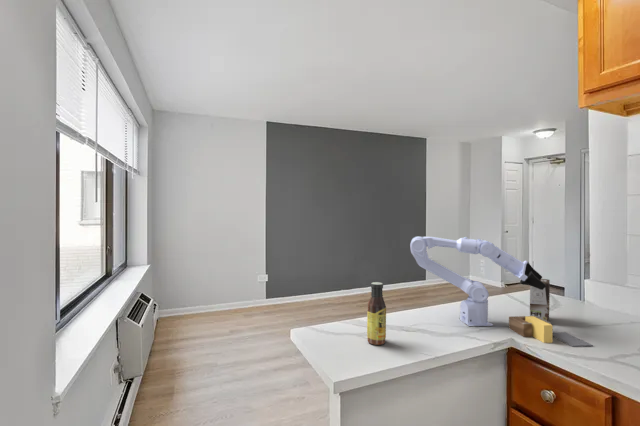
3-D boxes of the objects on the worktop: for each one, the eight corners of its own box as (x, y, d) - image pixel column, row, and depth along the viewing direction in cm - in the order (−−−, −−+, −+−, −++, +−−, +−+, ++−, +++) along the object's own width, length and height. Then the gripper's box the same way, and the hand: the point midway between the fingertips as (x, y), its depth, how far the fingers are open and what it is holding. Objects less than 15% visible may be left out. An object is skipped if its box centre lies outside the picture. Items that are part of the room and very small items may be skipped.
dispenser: (523, 337, 112) (523, 323, 112) (508, 328, 120) (508, 315, 120) (550, 336, 113) (551, 322, 113) (534, 328, 121) (534, 315, 121)
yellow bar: (543, 343, 107) (544, 325, 107) (525, 332, 116) (525, 316, 116) (552, 342, 108) (552, 325, 107) (533, 332, 116) (533, 316, 116)
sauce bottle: (381, 347, 104) (381, 286, 103) (363, 343, 107) (364, 284, 107) (388, 340, 109) (388, 282, 109) (371, 336, 112) (371, 280, 112)
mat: (572, 346, 104) (572, 345, 104) (546, 333, 115) (546, 332, 115) (593, 346, 105) (593, 345, 105) (565, 333, 116) (565, 332, 116)
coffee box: (548, 324, 124) (549, 283, 124) (529, 321, 128) (529, 281, 128) (549, 318, 131) (550, 279, 131) (530, 315, 135) (531, 277, 135)
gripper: (516, 260, 115) (553, 283, 111) (512, 247, 127) (546, 267, 124) (503, 275, 118) (539, 297, 114) (501, 260, 130) (533, 280, 127)
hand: (542, 283), depth 119 cm, fingers open, 7 cm apart
